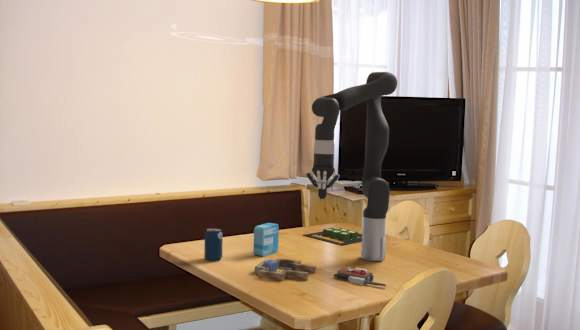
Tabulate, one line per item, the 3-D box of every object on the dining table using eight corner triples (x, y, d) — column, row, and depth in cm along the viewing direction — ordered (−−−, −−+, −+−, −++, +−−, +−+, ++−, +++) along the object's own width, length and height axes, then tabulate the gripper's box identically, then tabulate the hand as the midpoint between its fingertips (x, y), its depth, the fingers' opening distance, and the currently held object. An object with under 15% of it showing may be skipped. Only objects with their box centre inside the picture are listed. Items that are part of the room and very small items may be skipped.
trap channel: (319, 269, 224) (319, 262, 224) (302, 284, 205) (303, 276, 205) (270, 263, 231) (270, 256, 230) (249, 276, 212) (249, 269, 212)
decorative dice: (262, 271, 219) (262, 260, 219) (269, 269, 222) (270, 258, 222) (270, 273, 217) (270, 262, 216) (277, 271, 220) (278, 260, 219)
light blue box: (262, 257, 239) (263, 228, 238) (253, 255, 241) (253, 226, 240) (278, 251, 249) (279, 223, 248) (269, 250, 251) (270, 222, 250)
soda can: (225, 259, 233) (226, 229, 232) (212, 262, 228) (212, 232, 227) (214, 256, 238) (214, 226, 237) (200, 259, 233) (201, 229, 232)
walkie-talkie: (330, 280, 212) (384, 290, 203) (331, 268, 211) (385, 277, 202) (340, 274, 220) (392, 283, 210) (341, 263, 219) (393, 271, 210)
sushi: (302, 236, 281) (302, 229, 281) (338, 230, 298) (338, 223, 298) (341, 247, 263) (342, 239, 263) (377, 239, 280) (377, 232, 279)
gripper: (343, 152, 221) (342, 198, 223) (310, 150, 225) (308, 195, 227) (338, 154, 214) (336, 201, 216) (303, 151, 218) (302, 198, 220)
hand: (322, 198), depth 221 cm, fingers closed
